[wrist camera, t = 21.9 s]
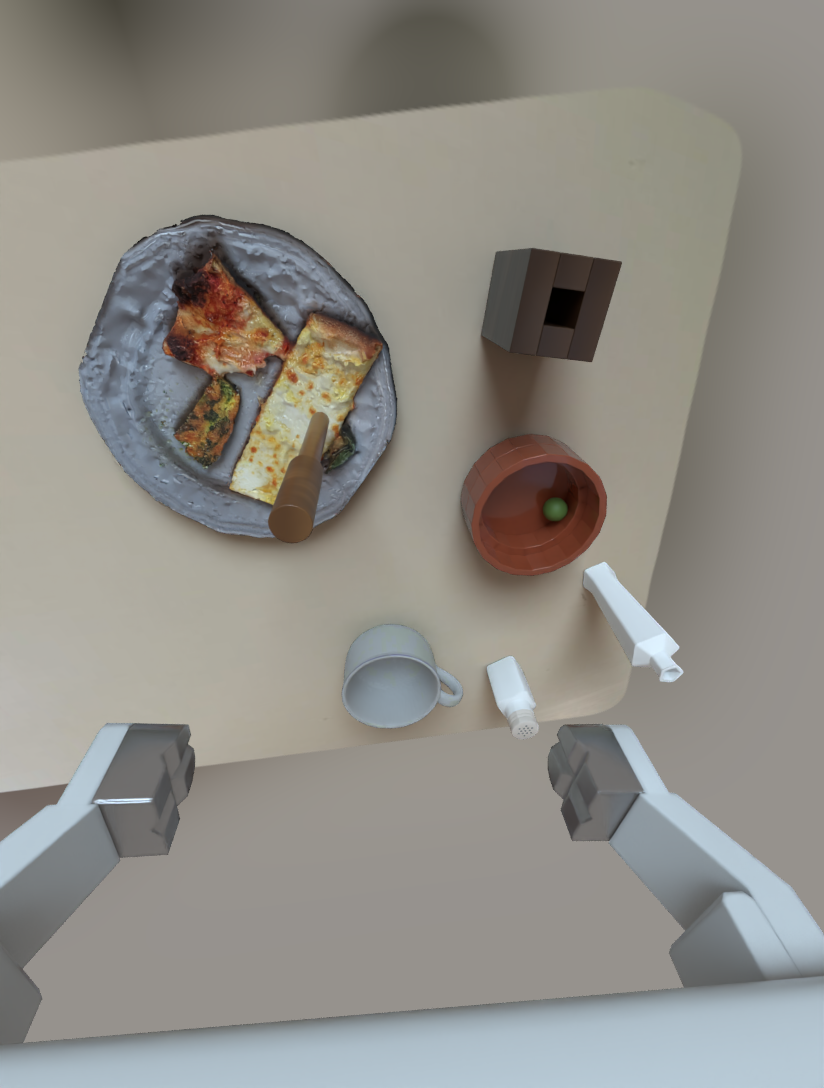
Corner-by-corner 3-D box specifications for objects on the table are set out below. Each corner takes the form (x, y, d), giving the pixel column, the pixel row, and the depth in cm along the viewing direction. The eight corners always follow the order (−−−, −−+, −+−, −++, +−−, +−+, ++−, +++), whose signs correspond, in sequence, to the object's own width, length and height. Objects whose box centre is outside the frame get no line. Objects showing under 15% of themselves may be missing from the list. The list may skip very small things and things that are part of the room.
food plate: (177, 138, 31) (156, 124, 28) (446, 355, 39) (452, 362, 36) (62, 437, 40) (38, 451, 37) (300, 559, 49) (295, 578, 46)
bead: (575, 513, 45) (568, 502, 47) (559, 499, 44) (552, 489, 46) (557, 529, 46) (550, 518, 48) (541, 516, 45) (535, 505, 47)
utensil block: (568, 262, 36) (622, 261, 29) (548, 343, 39) (592, 362, 32) (495, 251, 36) (531, 247, 28) (480, 335, 39) (509, 352, 31)
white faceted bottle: (583, 598, 55) (650, 699, 42) (574, 571, 53) (641, 670, 40) (621, 583, 54) (699, 681, 41) (613, 555, 52) (694, 650, 39)
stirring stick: (334, 408, 38) (313, 506, 22) (333, 434, 39) (312, 544, 24) (306, 405, 37) (266, 503, 22) (306, 432, 39) (268, 542, 23)
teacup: (329, 659, 57) (324, 713, 50) (370, 597, 52) (371, 647, 45) (425, 691, 61) (433, 745, 54) (470, 636, 57) (485, 687, 50)
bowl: (596, 438, 44) (626, 461, 39) (560, 547, 51) (582, 578, 46) (472, 426, 43) (487, 448, 38) (451, 540, 49) (461, 572, 44)
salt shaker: (496, 682, 61) (516, 746, 53) (483, 665, 59) (502, 728, 51) (523, 670, 61) (547, 733, 52) (511, 652, 59) (535, 714, 51)
